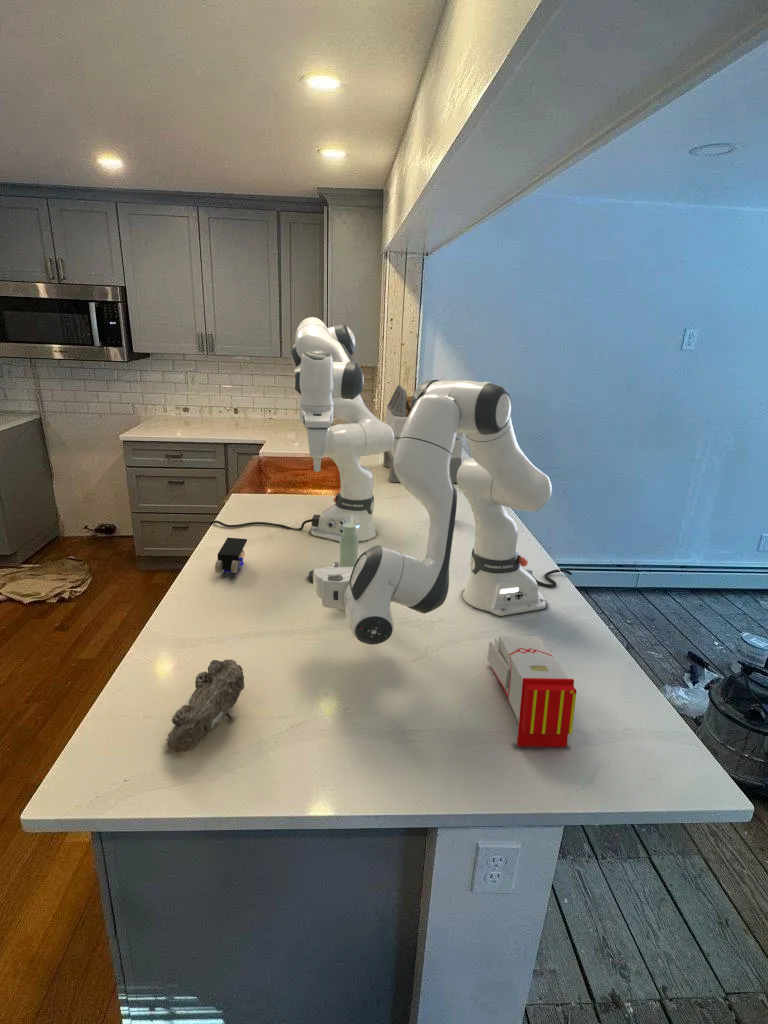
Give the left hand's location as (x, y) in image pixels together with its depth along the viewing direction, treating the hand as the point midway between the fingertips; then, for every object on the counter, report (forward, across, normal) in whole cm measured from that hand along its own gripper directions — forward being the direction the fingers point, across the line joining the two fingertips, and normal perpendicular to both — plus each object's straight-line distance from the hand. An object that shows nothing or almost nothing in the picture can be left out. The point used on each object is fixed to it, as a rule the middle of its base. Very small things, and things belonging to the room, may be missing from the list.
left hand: (316, 466), depth 153 cm
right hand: (+16, +29, +8) cm, 34 cm away
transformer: (+34, -111, +52) cm, 127 cm away
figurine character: (+34, -7, -24) cm, 42 cm away
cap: (+32, 0, 0) cm, 32 cm away
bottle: (+34, +16, +8) cm, 38 cm away
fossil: (+34, +57, -21) cm, 70 cm away
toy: (+34, +57, +41) cm, 78 cm away
